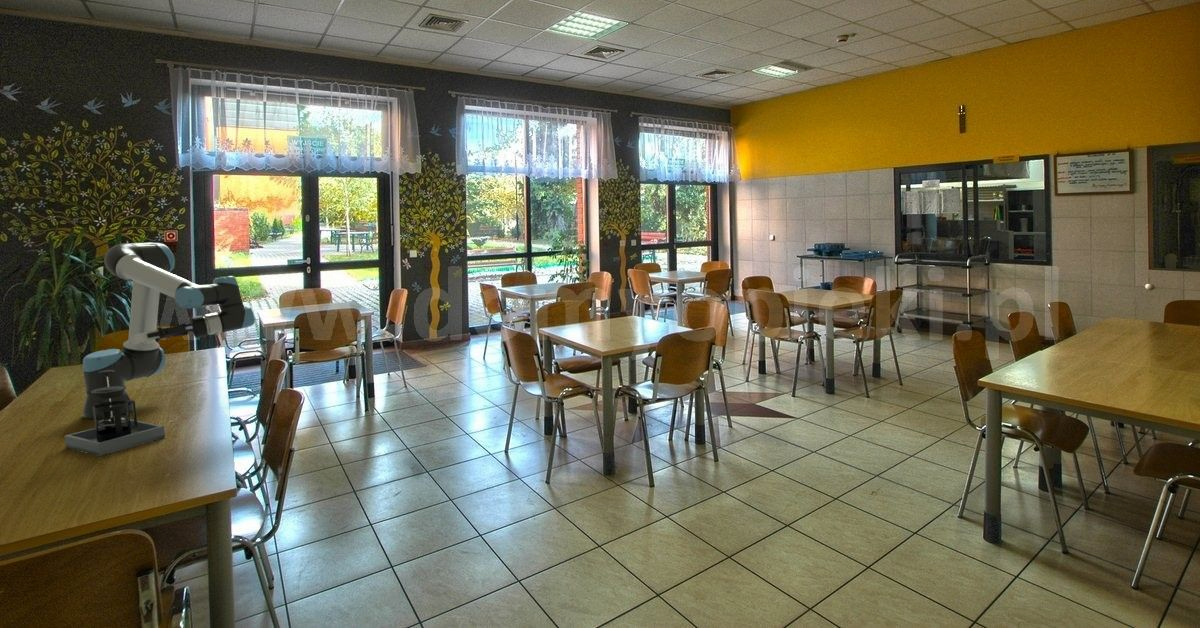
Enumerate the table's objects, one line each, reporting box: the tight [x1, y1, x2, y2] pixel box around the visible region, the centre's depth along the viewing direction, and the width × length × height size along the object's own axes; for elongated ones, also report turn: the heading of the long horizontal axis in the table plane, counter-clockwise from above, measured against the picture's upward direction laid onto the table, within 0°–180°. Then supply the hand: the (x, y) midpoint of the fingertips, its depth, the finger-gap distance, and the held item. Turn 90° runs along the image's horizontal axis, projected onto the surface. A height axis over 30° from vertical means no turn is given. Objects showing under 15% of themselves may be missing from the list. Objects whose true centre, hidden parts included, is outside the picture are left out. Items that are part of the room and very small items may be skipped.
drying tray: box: [64, 418, 166, 457], centre depth 205 cm, size 19×19×4 cm
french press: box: [91, 370, 138, 442], centre depth 203 cm, size 12×9×23 cm
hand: (133, 339), depth 211 cm, fingers open, 13 cm apart
